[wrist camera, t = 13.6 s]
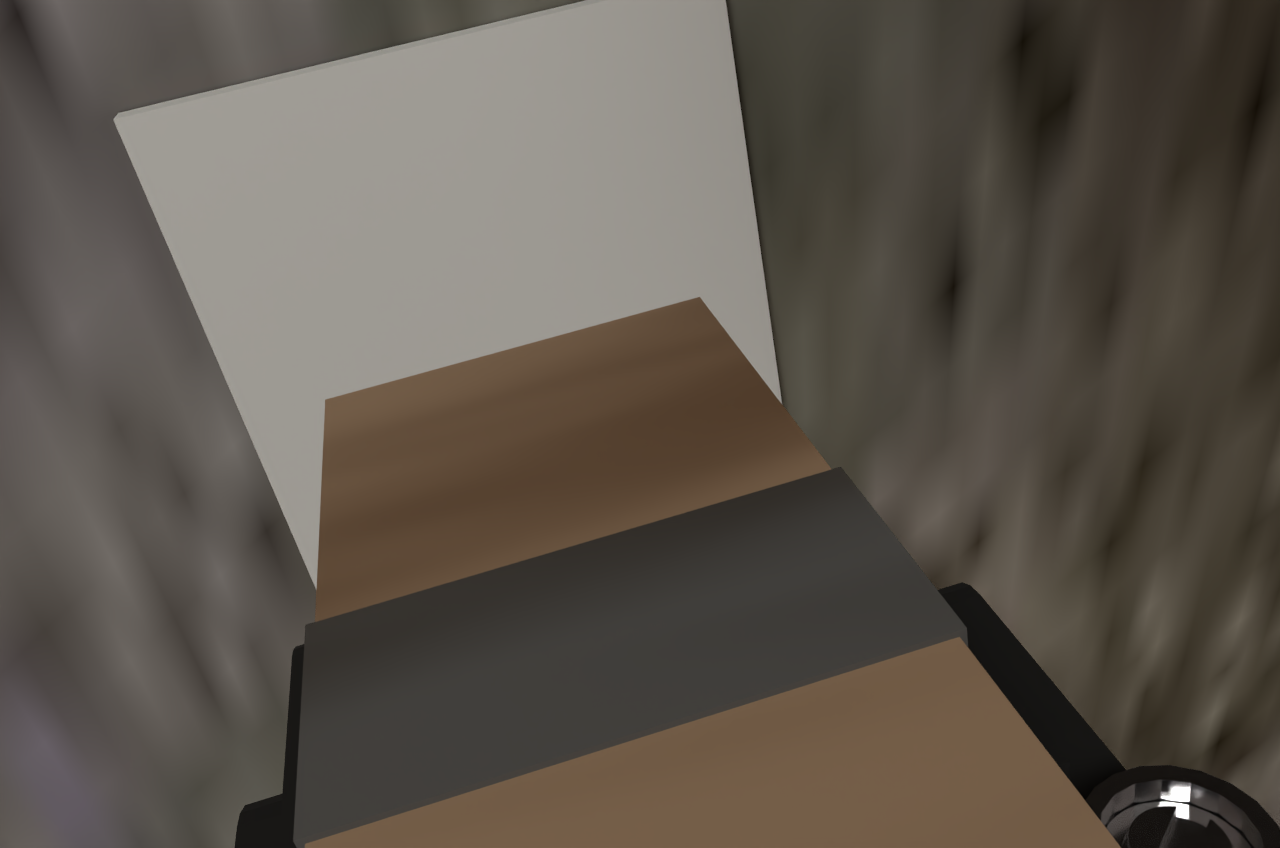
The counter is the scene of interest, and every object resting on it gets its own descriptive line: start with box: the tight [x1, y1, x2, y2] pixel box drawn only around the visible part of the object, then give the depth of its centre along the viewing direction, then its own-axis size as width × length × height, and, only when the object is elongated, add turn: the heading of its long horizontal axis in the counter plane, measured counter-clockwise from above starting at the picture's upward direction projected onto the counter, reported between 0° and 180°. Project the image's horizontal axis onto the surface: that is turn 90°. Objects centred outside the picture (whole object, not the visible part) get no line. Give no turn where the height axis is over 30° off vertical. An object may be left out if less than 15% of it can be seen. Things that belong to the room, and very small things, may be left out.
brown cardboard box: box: [293, 297, 1121, 848], centre depth 10 cm, size 6×4×8 cm
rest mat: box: [113, 0, 782, 590], centre depth 19 cm, size 9×9×1 cm
